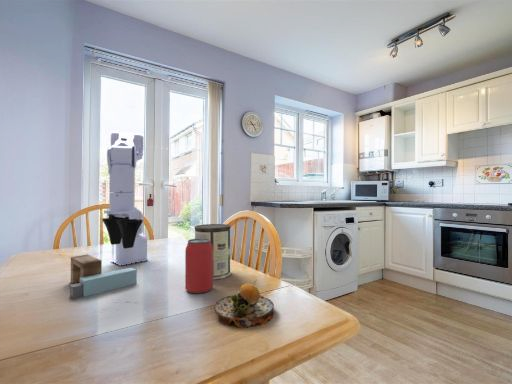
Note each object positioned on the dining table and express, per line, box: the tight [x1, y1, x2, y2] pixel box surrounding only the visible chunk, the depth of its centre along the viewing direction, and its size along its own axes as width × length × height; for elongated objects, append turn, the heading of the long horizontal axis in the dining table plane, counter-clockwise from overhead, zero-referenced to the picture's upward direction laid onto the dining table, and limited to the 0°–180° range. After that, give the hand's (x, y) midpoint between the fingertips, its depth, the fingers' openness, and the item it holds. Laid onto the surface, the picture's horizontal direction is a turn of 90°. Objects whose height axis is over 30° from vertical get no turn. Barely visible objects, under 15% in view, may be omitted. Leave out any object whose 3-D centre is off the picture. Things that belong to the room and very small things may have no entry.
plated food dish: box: [214, 280, 275, 329], centre depth 52 cm, size 12×12×8 cm
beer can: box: [184, 238, 214, 294], centre depth 65 cm, size 7×7×12 cm
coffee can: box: [194, 223, 231, 281], centre depth 77 cm, size 10×10×14 cm
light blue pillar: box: [69, 267, 138, 300], centre depth 65 cm, size 14×3×4 cm, turn 139°
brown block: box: [70, 254, 103, 284], centre depth 68 cm, size 4×10×7 cm, turn 49°
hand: (121, 245), depth 68 cm, fingers open, 7 cm apart
